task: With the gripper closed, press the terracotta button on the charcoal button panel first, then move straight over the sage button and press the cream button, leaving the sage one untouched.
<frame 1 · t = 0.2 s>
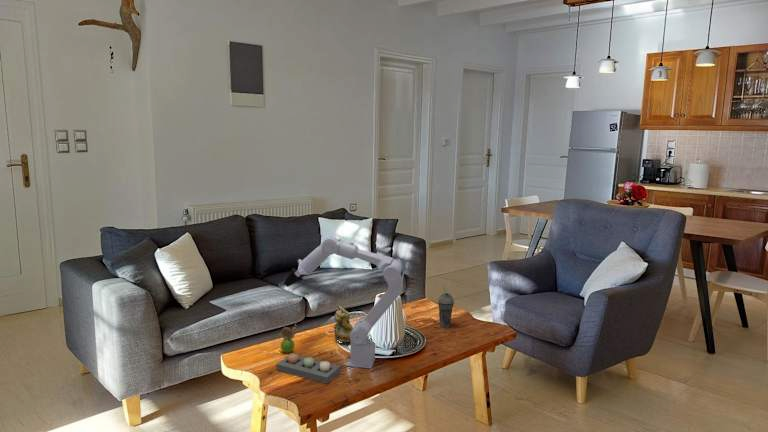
hand: (289, 281, 207), 31 cm above the table, tool tilted 45°, fingers open, 7 cm apart
beverage cup: (444, 326, 247), on the table
cream button: (324, 367, 198), point 3 cm above the table, slide at 0.0 cm
decorative figurine: (344, 340, 229), on the table
button panel: (308, 371, 201), on the table
terracotta button: (293, 359, 203), point 3 cm above the table, slide at 0.0 cm
sage button: (308, 363, 201), point 3 cm above the table, slide at 0.0 cm
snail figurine: (288, 352, 217), on the table
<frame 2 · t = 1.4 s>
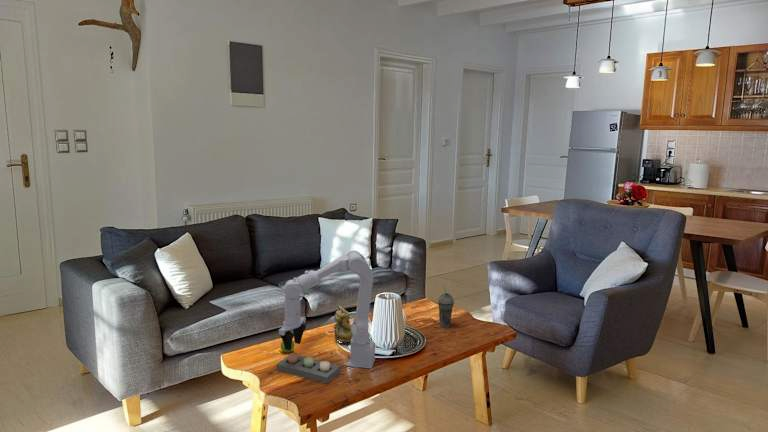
hand: (292, 346, 203), 8 cm above the table, tool pointing down, fingers open, 6 cm apart
nothing on the table moved.
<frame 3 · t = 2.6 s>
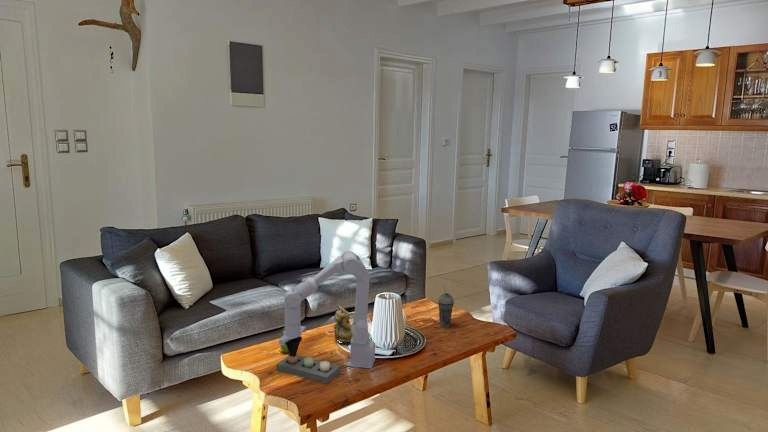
hand: (292, 355, 203), 5 cm above the table, tool pointing down, fingers closed, pressing on terracotta button
terracotta button: (293, 359, 203), point 3 cm above the table, slide at 0.1 cm, touching gripper
everything else where it was.
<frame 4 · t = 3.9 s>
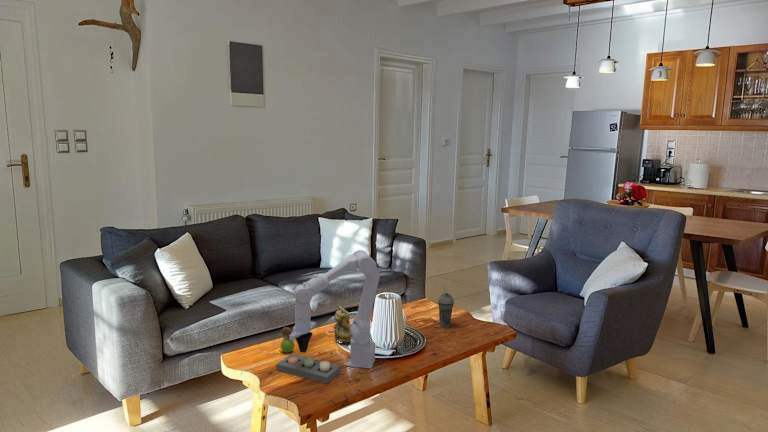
hand: (303, 351, 201), 7 cm above the table, tool pointing down, fingers closed
terracotta button: (293, 362, 204), point 2 cm above the table, slide at 1.5 cm
everything else where it was.
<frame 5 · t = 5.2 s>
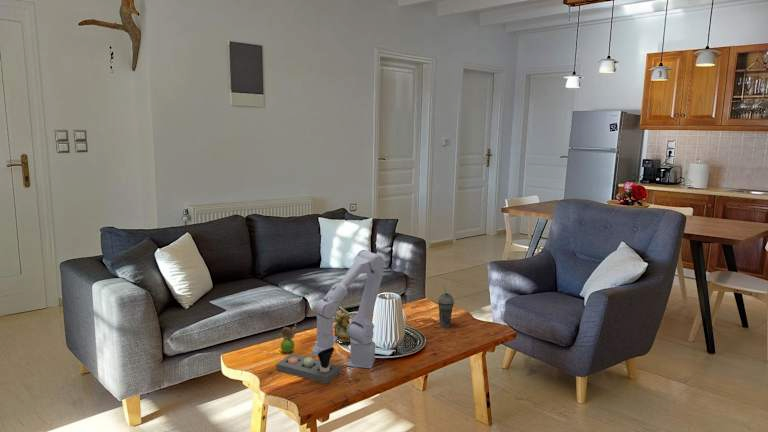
hand: (324, 366, 198), 3 cm above the table, tool pointing down, fingers closed, pressing on cream button
cream button: (324, 370, 198), point 2 cm above the table, slide at 1.4 cm, touching gripper
everything else where it was.
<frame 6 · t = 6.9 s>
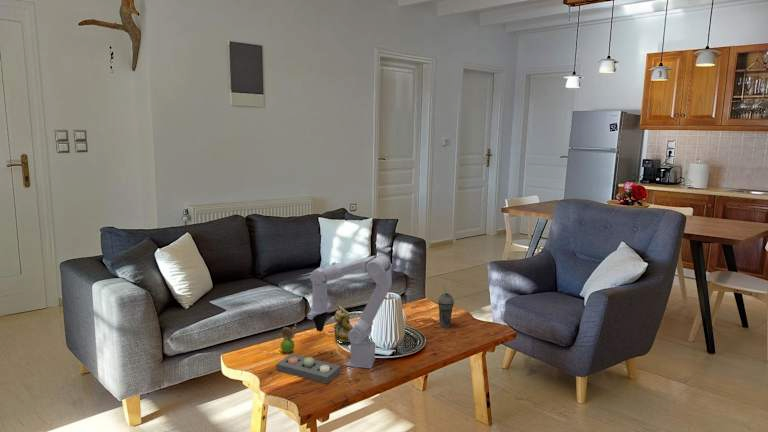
hand: (319, 330, 213), 10 cm above the table, tool pointing down, fingers closed
cream button: (324, 370, 198), point 2 cm above the table, slide at 1.5 cm
everything else where it was.
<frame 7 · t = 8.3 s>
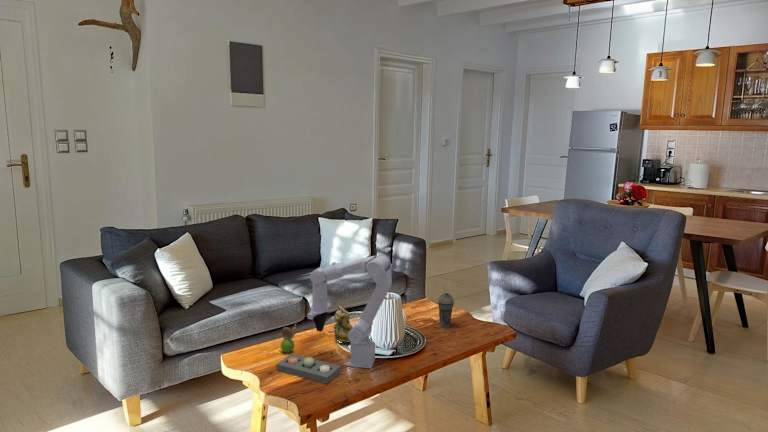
hand: (319, 330, 213), 10 cm above the table, tool pointing down, fingers closed
nothing on the table moved.
at the end: terracotta button slide at 1.5 cm; cream button slide at 1.5 cm; sage button slide at 0.0 cm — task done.
